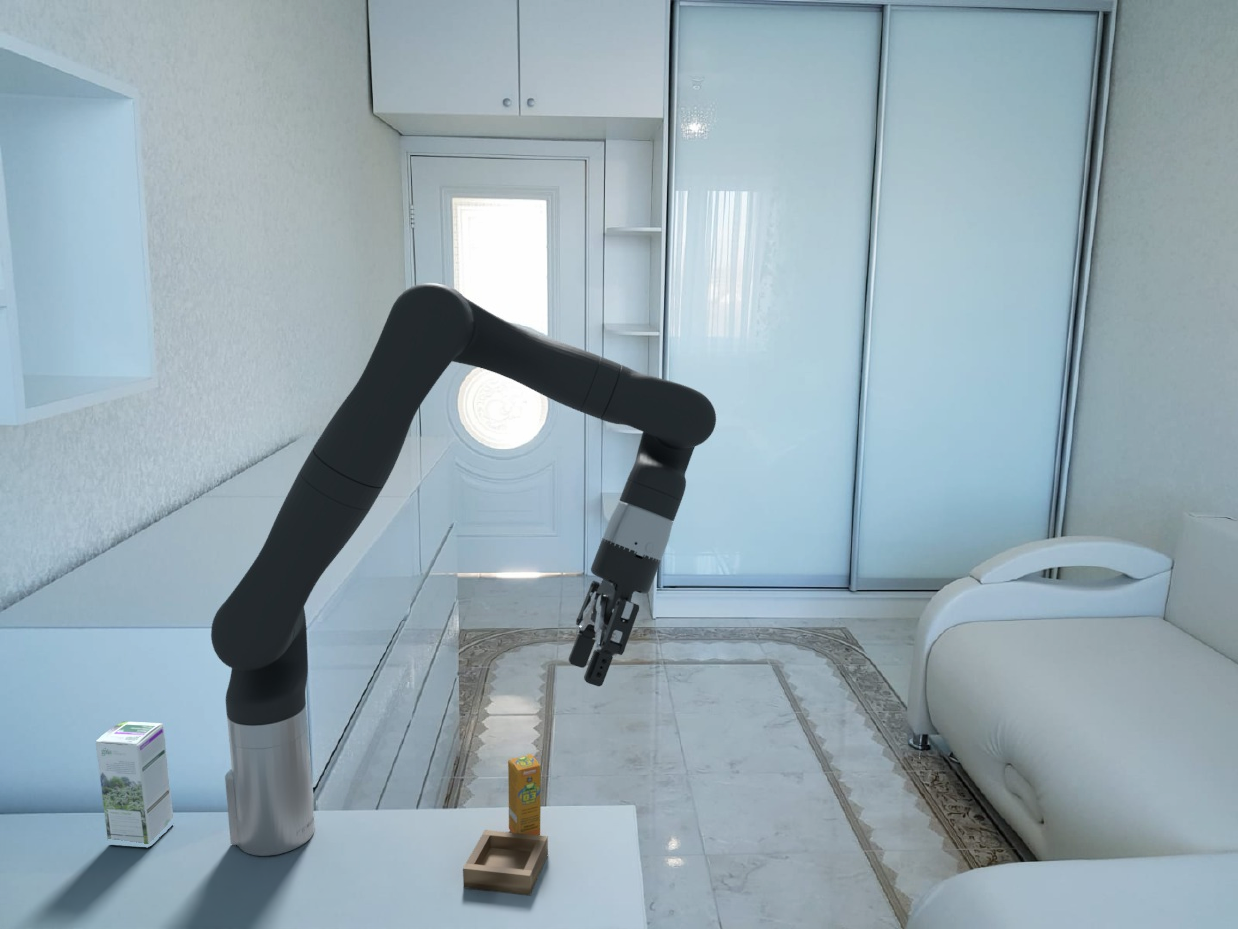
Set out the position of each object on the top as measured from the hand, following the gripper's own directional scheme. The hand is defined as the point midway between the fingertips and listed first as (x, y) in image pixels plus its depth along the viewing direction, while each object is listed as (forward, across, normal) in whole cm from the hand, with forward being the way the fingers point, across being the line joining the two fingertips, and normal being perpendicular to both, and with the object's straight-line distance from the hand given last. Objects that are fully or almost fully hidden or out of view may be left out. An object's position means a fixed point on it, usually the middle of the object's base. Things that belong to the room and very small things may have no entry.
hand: (583, 674), depth 112 cm
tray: (+25, -2, 0) cm, 25 cm away
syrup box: (+41, -22, -40) cm, 61 cm away
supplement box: (+23, -9, +3) cm, 25 cm away
